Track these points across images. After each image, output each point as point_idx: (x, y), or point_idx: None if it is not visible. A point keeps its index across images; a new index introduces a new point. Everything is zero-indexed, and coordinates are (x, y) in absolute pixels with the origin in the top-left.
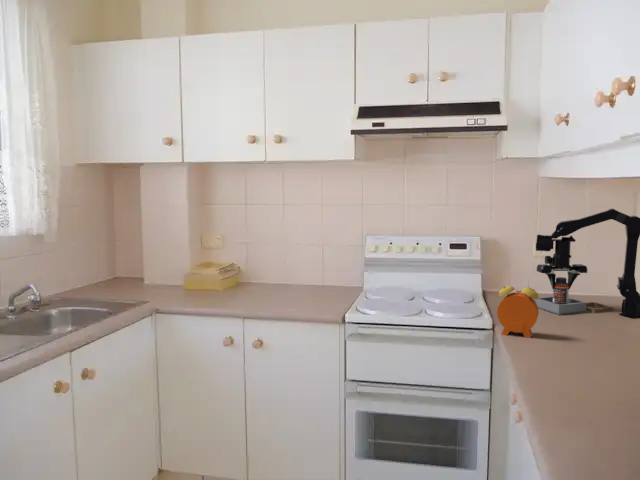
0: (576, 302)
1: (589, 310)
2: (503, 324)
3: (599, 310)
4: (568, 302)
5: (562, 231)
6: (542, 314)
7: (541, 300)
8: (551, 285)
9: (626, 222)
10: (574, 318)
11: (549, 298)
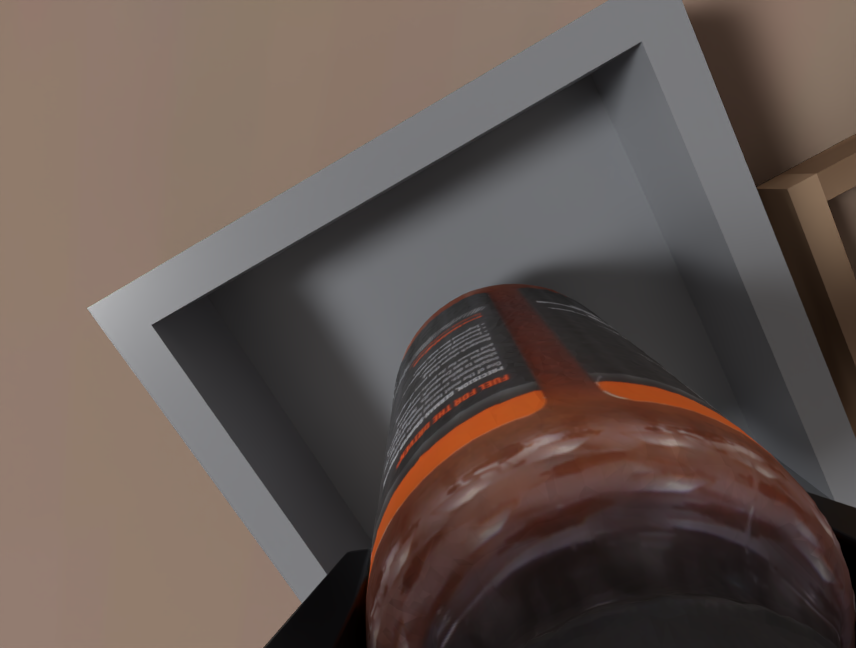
0: (768, 384)
1: (852, 416)
2: None
3: None
4: (683, 227)
5: None
6: (227, 622)
7: (196, 448)
8: (302, 620)
9: None
10: None
11: (379, 192)
